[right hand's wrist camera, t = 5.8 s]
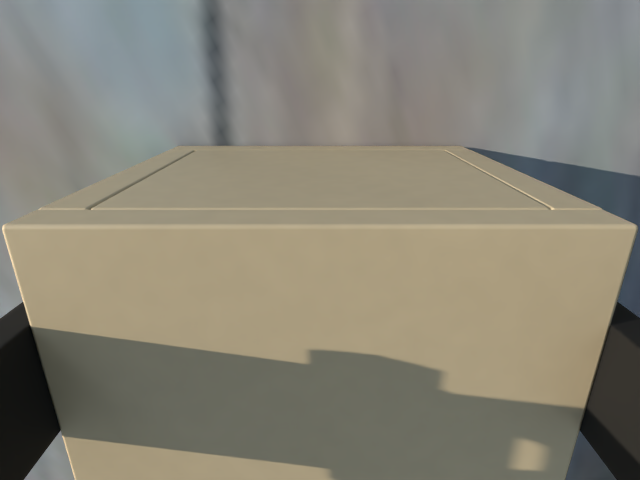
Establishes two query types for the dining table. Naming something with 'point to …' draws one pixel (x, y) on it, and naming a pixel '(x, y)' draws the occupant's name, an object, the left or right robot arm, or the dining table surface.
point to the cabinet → (320, 315)
